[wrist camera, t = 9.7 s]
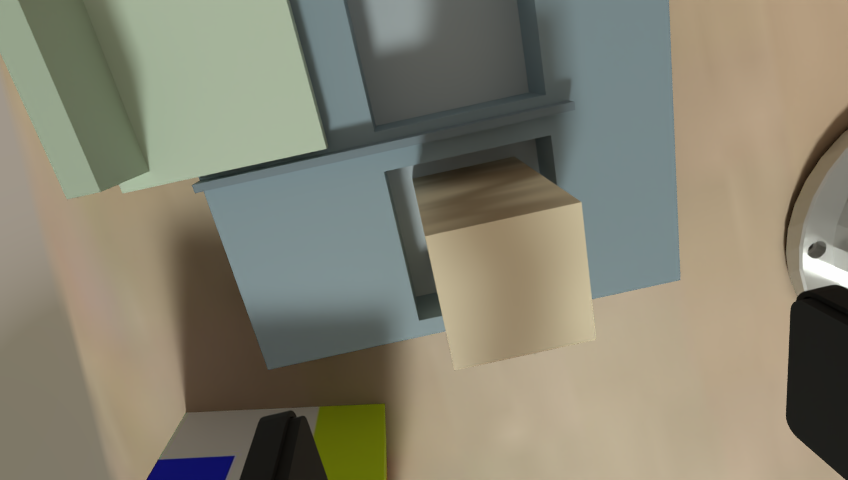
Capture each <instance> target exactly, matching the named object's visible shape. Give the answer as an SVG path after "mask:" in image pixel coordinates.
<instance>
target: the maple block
mask: <svg viewBox="0 0 848 480" xmlns="http://www.w3.org/2000/svg"><path fill="white" fill-rule="evenodd" d="M412 180H413V185H414V189H415V194H416V199H417V203H418V208H419V212H420V217H421V222H422V226H423V231H424V235H425V240H426V244H427V249H428V254H429V258H430V263H431V267H432V272H433V277H434V281H435V286H436V290H437V294H438V299H439V303H440V308H441V312H442V317H443V321H444V326H445V330H446V335H447V339H448V344H449V348H450V353H451V357H452V362H453V366H454V371H455V370H460V369H464V368H469V367H473V366H478V365H482V364H487V363H492V362H496V361H501V360H505V359H510V358H515V357H519V356H524V355H528V354H533V353H537V352H542V351H547V350H551V349H556V348H560V347H565V346H570V345H574V344H579V343H583V342H588V341H592V340H596V333H595V324H594V314H593V305H592V296H591V286H590V277H589V267H588V258H587V249H586V239H585V230H584V220H583V211H582V202H581V201H579V200H578V199H576V198H575V197H573V196H572V195H570V194H569V193H567V192H566V191H564V190H563V189H561V188H560V187H559V186H557V185H556V184H554V183H553V182H551V181H550V180H548V179H547V178H545V177H544V176H542V175H541V174H539V173H538V172H536V171H535V170H533V169H532V168H530V167H529V166H528V165H526V164H525V163H523V162H522V161H520V160H519V159H517V158H516V157H509V158H504V159H500V160H495V161H491V162H486V163H482V164H477V165H472V166H468V167H463V168H459V169H454V170H450V171H445V172H440V173H436V174H431V175H427V176H422V177H418V178H413V179H412Z"/></svg>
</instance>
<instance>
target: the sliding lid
mask: <svg viewBox="0 0 848 480" xmlns="http://www.w3.org/2000/svg"><path fill="white" fill-rule="evenodd" d="M0 53H1V55H2V58H3V60H4V62H5V64H6V66H7V69H8V71H9V73H10V75H11V77H12V80H13V82H14V84H15V86H16V88H17V91H18V93H19V95H20V97H21V99H22V101H23V104H24V106H25V108H26V110H27V112H28V115H29V117H30V119H31V121H32V123H33V126H34V128H35V130H36V132H37V134H38V137H39V139H40V141H41V143H42V145H43V148H44V150H45V152H46V154H47V156H48V159H49V161H50V163H51V165H52V167H53V170H54V172H55V174H56V176H57V178H58V181H59V183H60V185H61V187H62V189H63V192H64V194H65V196H66V198H67V199H71V198H75V197H80V196H84V195H89V194H94V193H98V192H102V191H104V190H106V189H109V188H111V187H113V186H116V185H118V184H119V186H120V189H121V191H122V193H127V192H131V191H136V190H141V189H145V188H150V187H154V186H159V185H163V184H168V183H173V182H177V181H182V180H186V179H191V178H195V177H200V176H205V175H209V174H214V173H218V172H223V171H227V170H232V169H237V168H241V167H246V166H250V165H255V164H259V163H264V162H269V161H273V160H278V159H282V158H287V157H291V156H296V155H301V154H305V153H310V152H314V151H319V150H323V149H327V148H328V143H327V139H326V135H325V132H324V128H323V124H322V121H321V117H320V113H319V109H318V106H317V102H316V98H315V94H314V91H313V87H312V83H311V80H310V76H309V72H308V68H307V65H306V61H305V57H304V53H303V50H302V46H301V42H300V39H299V35H298V31H297V27H296V24H295V20H294V16H293V12H292V9H291V5H290V1H289V0H0Z"/></svg>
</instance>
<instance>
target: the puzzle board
mask: <svg viewBox="0 0 848 480" xmlns="http://www.w3.org/2000/svg"><path fill="white" fill-rule="evenodd" d="M289 1H290V5H291V9H292V12H293V16H294V20H295V24H296V27H297V31H298V35H299V39H300V42H301V46H302V50H303V53H304V57H305V61H306V65H307V68H308V72H309V76H310V80H311V83H312V87H313V91H314V94H315V98H316V102H317V106H318V109H319V113H320V117H321V121H322V124H323V128H324V132H325V135H326V139H327V143H328V148H327V149H323V150H319V151H314V152H310V153H305V154H301V155H296V156H291V157H287V158H282V159H278V160H273V161H269V162H264V163H259V164H255V165H250V166H246V167H241V168H237V169H232V170H227V171H223V172H218V173H214V174H209V175H205V176H200V177H199V180H200V181H198V182H197V183H195V184H193V185H192V187H193V189H194V192H195V193H198V192H203V191H204V193H205V196H206V199H207V202H208V205H209V207H210V210H211V213H212V216H213V218H214V221H215V224H216V227H217V230H218V232H219V235H220V238H221V241H222V243H223V246H224V249H225V252H226V254H227V257H228V260H229V263H230V266H231V268H232V271H233V274H234V277H235V279H236V282H237V285H238V288H239V291H240V293H241V296H242V299H243V302H244V304H245V307H246V310H247V313H248V316H249V318H250V321H251V324H252V327H253V329H254V332H255V335H256V338H257V341H258V343H259V346H260V349H261V352H262V354H263V357H264V360H265V363H266V365H267V368H268V370H270V369H275V368H279V367H284V366H288V365H293V364H298V363H302V362H307V361H311V360H316V359H320V358H325V357H330V356H334V355H339V354H343V353H348V352H353V351H357V350H362V349H366V348H371V347H375V346H380V345H385V344H389V343H394V342H398V341H403V340H408V339H412V338H417V337H421V336H426V335H430V334H435V333H440V332H444V331H446V330H445V326H444V321H443V317H442V312H441V308H440V303H439V299H438V294H437V290H436V286H435V281H434V277H433V272H432V267H431V263H430V258H429V254H428V249H427V244H426V240H425V235H424V231H423V226H422V222H421V217H420V212H419V208H418V203H417V199H416V194H415V189H414V185H413V180H412V179H413V178H418V177H422V176H427V175H431V174H436V173H440V172H445V171H450V170H454V169H459V168H463V167H468V166H472V165H477V164H482V163H486V162H491V161H495V160H500V159H504V158H509V157H516V158H517V159H519V160H520V161H522V162H523V163H525V164H526V165H528V166H529V167H530V168H532V169H533V170H535V171H536V172H538V173H539V174H541V175H542V176H544V177H545V178H547V179H548V180H550V181H551V182H553V183H554V184H556V185H557V186H559V187H560V188H561V189H563V190H564V191H566V192H567V193H569V194H570V195H572V196H573V197H575V198H576V199H578V200H579V201H581V202H582V211H583V220H584V230H585V239H586V249H587V258H588V267H589V277H590V286H591V296H592V299H595V298H600V297H604V296H609V295H614V294H618V293H623V292H627V291H632V290H637V289H641V288H646V287H650V286H655V285H659V284H664V283H669V282H673V281H678V280H680V259H679V235H678V211H677V186H676V162H675V138H674V114H673V90H672V65H671V41H670V17H669V0H289Z"/></svg>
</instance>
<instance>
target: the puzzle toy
mask: <svg viewBox="0 0 848 480" xmlns="http://www.w3.org/2000/svg"><path fill="white" fill-rule="evenodd" d="M289 410H292V411H294V413H295V414H296V416H297V417H299V416H305V417H306V418H307V421H308V423H309V426H310V429H311V432H312V435H313V438H314V441H315V443H316V446H317V449H318V452H319V455H320V458H321V461H322V464H323V467H324V470H325V472H326V475H327V478H328V480H387V453H386V423H385V404H365V405H343V406H321V407H299V408H277V409H255V410H233V411H211V412H188V413H185V415H184V417H183V419H182V420H181V422H180V424H179V425H178V427H177V429H176V430H175V432H174V434H173V435H172V437H171V439H170V441H169V442H168V444H167V446H166V447H165V449H164V451H163V452H162V454H161V456H160V458H159V459H158V461H157V463H156V464H155V466H154V468H153V469H152V471H151V473H150V474H149V476H148V478H147V480H239V479H240V476H241V473H242V470H243V467H244V464H245V461H246V458H247V455H248V452H249V449H250V446H251V443H252V440H253V437H254V434H255V431H256V428H257V425H258V422H259V420H260V418H262V417H264V416H268V415H272V414H277V413H281V412H285V411H289Z"/></svg>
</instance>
